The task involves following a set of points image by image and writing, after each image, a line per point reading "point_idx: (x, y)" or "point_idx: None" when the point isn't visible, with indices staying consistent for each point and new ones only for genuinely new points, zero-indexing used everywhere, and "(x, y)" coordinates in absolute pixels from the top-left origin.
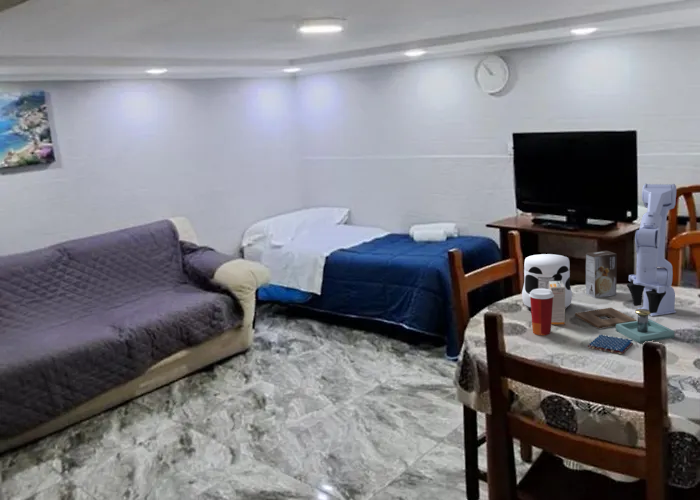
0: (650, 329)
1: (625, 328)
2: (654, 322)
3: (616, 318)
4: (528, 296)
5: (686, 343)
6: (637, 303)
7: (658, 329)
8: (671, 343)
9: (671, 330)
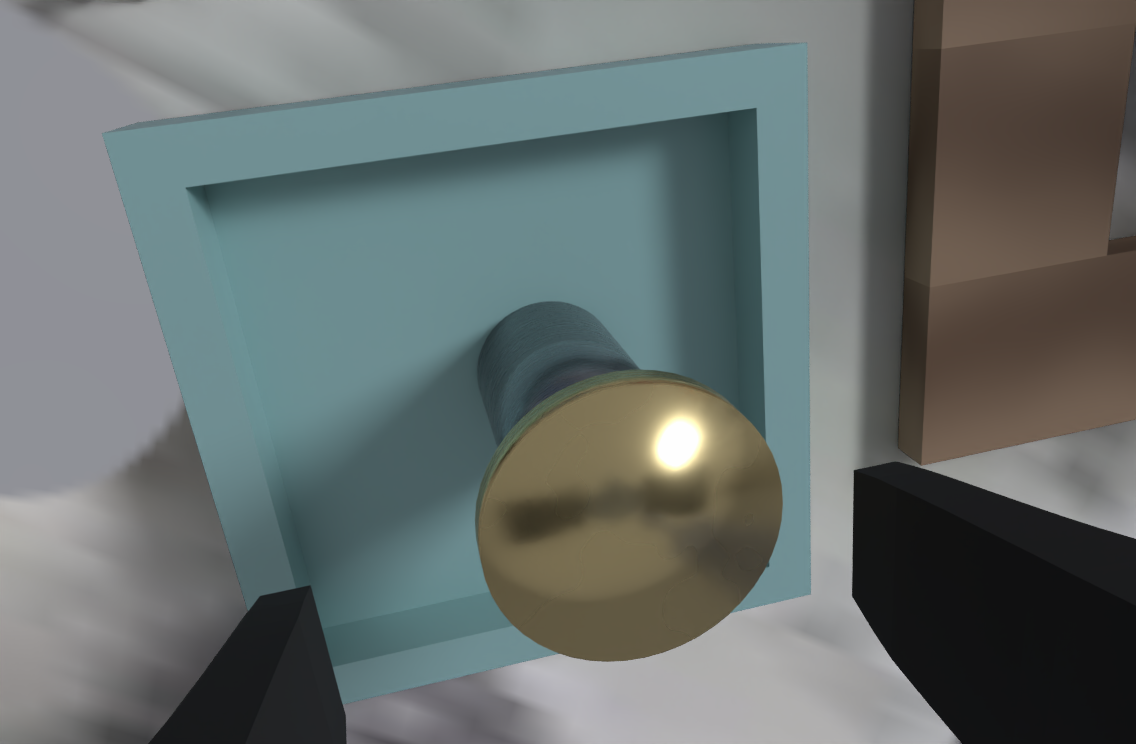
0: None
1: (564, 93)
2: None
3: (1078, 245)
4: None
5: (66, 710)
6: (883, 549)
7: None
8: (86, 551)
9: None
